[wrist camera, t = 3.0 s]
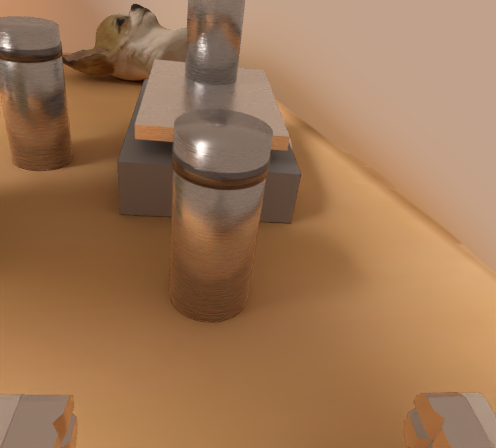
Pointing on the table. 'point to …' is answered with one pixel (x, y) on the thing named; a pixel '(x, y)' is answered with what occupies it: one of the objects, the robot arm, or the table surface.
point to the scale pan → (204, 101)
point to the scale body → (161, 175)
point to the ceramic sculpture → (130, 46)
